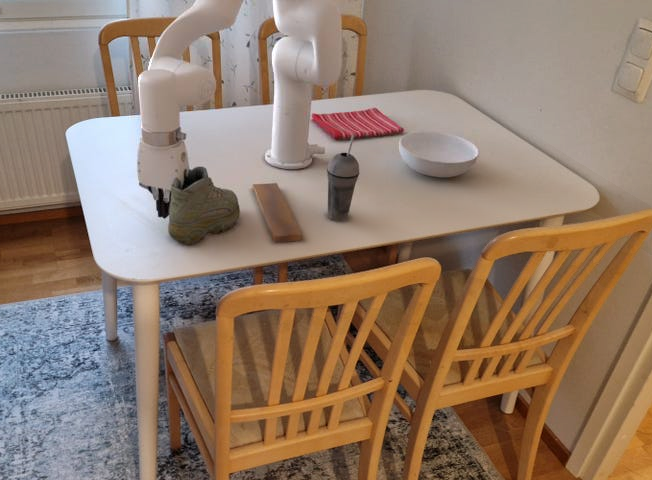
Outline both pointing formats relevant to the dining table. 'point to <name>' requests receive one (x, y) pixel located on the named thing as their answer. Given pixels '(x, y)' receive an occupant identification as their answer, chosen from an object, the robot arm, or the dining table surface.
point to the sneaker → (200, 207)
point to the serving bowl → (437, 153)
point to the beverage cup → (341, 184)
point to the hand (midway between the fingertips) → (164, 214)
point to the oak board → (276, 213)
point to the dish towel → (356, 124)
